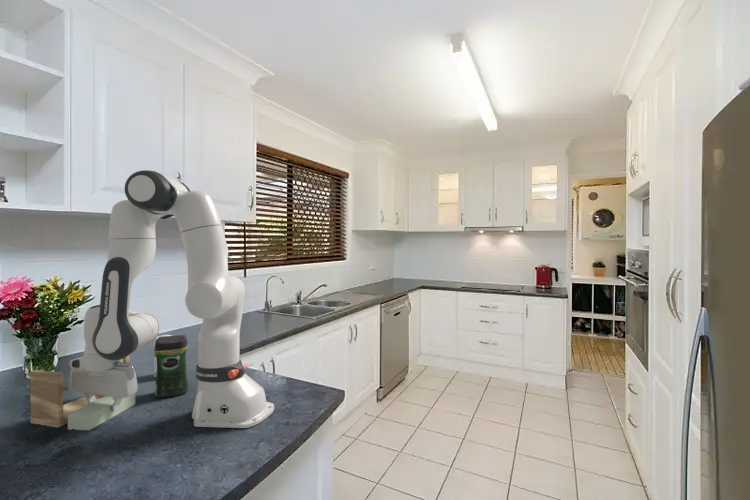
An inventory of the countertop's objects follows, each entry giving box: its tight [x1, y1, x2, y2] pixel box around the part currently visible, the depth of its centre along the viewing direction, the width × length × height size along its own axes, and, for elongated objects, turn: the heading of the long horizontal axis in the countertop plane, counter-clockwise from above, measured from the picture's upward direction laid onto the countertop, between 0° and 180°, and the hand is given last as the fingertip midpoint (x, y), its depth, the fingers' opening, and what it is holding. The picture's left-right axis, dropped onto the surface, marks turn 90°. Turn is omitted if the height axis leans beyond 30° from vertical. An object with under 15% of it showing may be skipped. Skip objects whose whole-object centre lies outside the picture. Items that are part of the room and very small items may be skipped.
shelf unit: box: [29, 355, 130, 428], centre depth 108 cm, size 21×10×14 cm, turn 165°
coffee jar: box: [153, 334, 190, 398], centre depth 120 cm, size 10×8×19 cm
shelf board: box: [67, 393, 136, 431], centre depth 104 cm, size 16×6×4 cm, turn 174°
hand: (104, 409), depth 104 cm, fingers closed on shelf board, 6 cm apart
